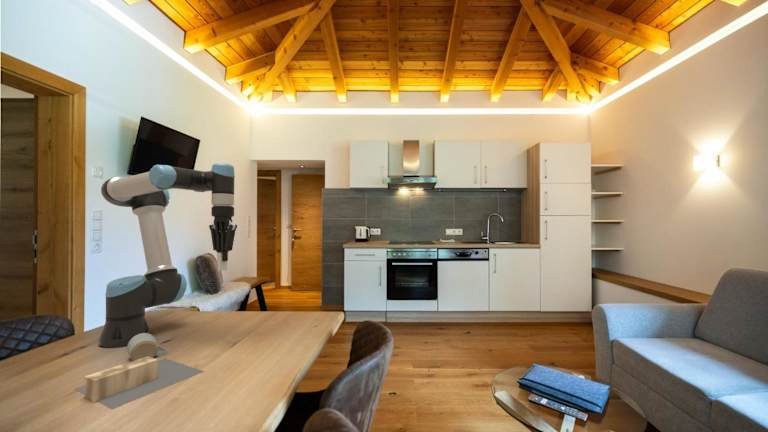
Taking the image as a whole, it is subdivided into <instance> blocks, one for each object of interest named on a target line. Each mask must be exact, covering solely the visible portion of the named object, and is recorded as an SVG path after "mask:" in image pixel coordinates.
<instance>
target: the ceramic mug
mask: <svg viewBox="0 0 768 432" xmlns="http://www.w3.org/2000/svg"><path fill="white" fill-rule="evenodd" d="M126 350H127V354H128V356H129V358H130V360H131V361H135V360H138V359H141V358H144V357H147V356H149V357H152V358H155V357H161V356H165V355H167V354H169V349H167V348H166V347H164V346H161V345H158V343H157V339H156V337H155V336H154V335H153V334H151V333H150V334H148V333H141V334H138V335H136V336H134V337H133V338H132V339H131V340H130V341H129V343H128V345H126Z"/></svg>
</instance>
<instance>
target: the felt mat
mask: <svg viewBox="0 0 768 432" xmlns="http://www.w3.org/2000/svg"><path fill="white" fill-rule="evenodd" d="M204 372H205V370H202V369H198V368H196V367H193V366H189V365H187V364H184V363H180V362H178V361H175V360H172V359H169V358H163V359H159V360H158V378H156V379H154V380H151V381H148V382H146V383H143V384H141V385H138V386H135V387H133V388H130V389H127V390H125V391H122V392H119V393H117V394H114V395H111V396H109V397H106V398H104V399H101V400H98V401H96V402H98V403H99V404H101V405H103V406H105V407H107V408H108V409H111V410H114V409H117V408H119V407H122V406H123V405H126V404H129V403H131V402H133V401H136V400H138V399H141V398H143V397H147V396H149V395H151V394H153V393H156V392H158V391H161V390H163V389H165V388H168V387H171V386H172V385H175V384H177V383H179V382H182V381H185V380H187V379H190V378H192V377H195V376H197V375H199V374H202V373H204ZM74 391H77V392H78V393H80V394H83V395H84V392H85V385H82V386H79V387H75V388H74Z"/></svg>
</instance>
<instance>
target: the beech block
mask: <svg viewBox="0 0 768 432" xmlns="http://www.w3.org/2000/svg"><path fill="white" fill-rule="evenodd" d="M158 361H159V360H158V358H155V357H154V358H152V357H149V356H147V357H144V358H141V359H138V360H135V361H132V360H131V361H129V362H126V363H122V364H120V365H116V366H113V367H111V368H110V367H109V368H106V369H103V370H101V371H97V372H94V373H91V374H88V375H85V376H84V386H85V392H84V394H83V395H84V398H85V399H87V400H89V401H90V402H92V403H96V402H97V401H98V400H101V399H104V398H106V397H109V396H111V395H114V394H117V393H119V392H122V391H125V390H127V389H130V388H133V387H135V386H138V385H141V384H143V383H146V382H148V381H151V380H154V379H156V378H158Z"/></svg>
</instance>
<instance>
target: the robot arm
mask: <svg viewBox="0 0 768 432" xmlns="http://www.w3.org/2000/svg"><path fill="white" fill-rule="evenodd" d="M235 176H236V175H235V167H234V166H233V165H232V164H229V163H219V162H218V163H214V164H212V165H211V169H210V170H209V171H208V170H207V171H202V170H196V169H189V168H185V167H184V168H183V167H178V166H173V165H168V164H155V165H153V166H152V168H150V170H149V171H146V172H143V173H142V172H141V173H139V174H134V175H130V176H126V177H124V176H115V177H111V178H109V179H107V180H105V181H104V182H103V183H102V186H101V189H100V191H101V195H102V197H103V198H104V200H105V201H107V202H108V203H109V204H112V205H115V206H118V207H127V208H131V210H132V214H133V215H135V216H137V219H138V224H139V225H138V226H139V230H140V231H139V232H140V235H141V241H142V246H143V252H144V256H145V257H144V258H145V265H146V267H147V268H146V269H147V271H146V272H145V273H144V275H142V274H135V275H130V276H129V275H128V276H124V277H119V278H115V279H113V280H111V281H109V282H108V283H107V284H106V289H105V294H104V295H105V323H104V326H103V328H102V330H101V333H100V336H99V339H98V346H99V345H100V346H103V347H102V348H119V347H120V348H121V347H125V346H126V347H127V345H128V343H129V341H130V340H131V339H132V338H133V337H134V336H136V335H138V334H141V333H148V334H151V329H150V326H149V324H148V322H147V319H146V309H148V308H153V307H158V306H163V305H169V304H172V303H175V302H179V301H180V300H182V298H183V297H184V296H185V293H186V291H187V283H188V282H187V279H186V276H184V274H183V273H179V272H178V268H177V267H175V266H174V265H173V263H172V258H171V252H170V247H169V242H168V238H167V233H166V227H165V222H164V221H165V220H164V217H163V213H164V212H165V211H166V208H167V207H168V205H169V202H170V201H169V200H170V192H169V190H171V189H177V190H178V189H179V190H188V191H193V192H198V193H205V192H211V199H210V200H211V205H212V207H211V212H210V213H211V216H212V217H214V219H213V223H212V224H210V225H208V227H209V230H210V235H211V237H210V238H211V242H212V249H213V251H216V253H217V271H218V272H221V271H222V272H223V271H227V270H228V261H229V260H228V259H229V258H228V257H229V252H230V251H233V245H234V241H235V236H236V235H235V234H236V232H237V231H236V230H237V229H238V224H234V223H233V219H232V217H234V216H235V207H234V205H235ZM100 346H99V347H100Z"/></svg>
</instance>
